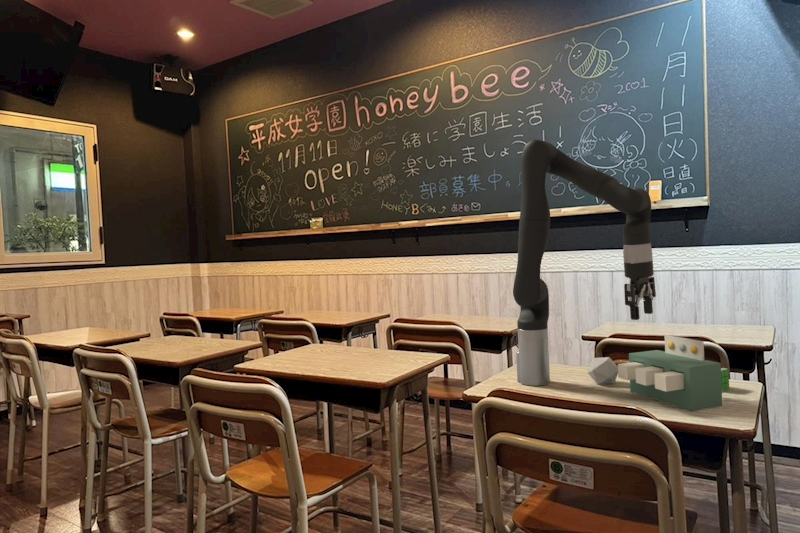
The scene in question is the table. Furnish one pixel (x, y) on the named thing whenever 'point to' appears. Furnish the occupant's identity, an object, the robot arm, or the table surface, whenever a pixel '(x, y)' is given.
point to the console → (688, 360)
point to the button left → (628, 370)
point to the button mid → (647, 375)
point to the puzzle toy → (725, 378)
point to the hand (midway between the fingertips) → (641, 316)
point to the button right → (669, 381)
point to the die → (603, 370)
